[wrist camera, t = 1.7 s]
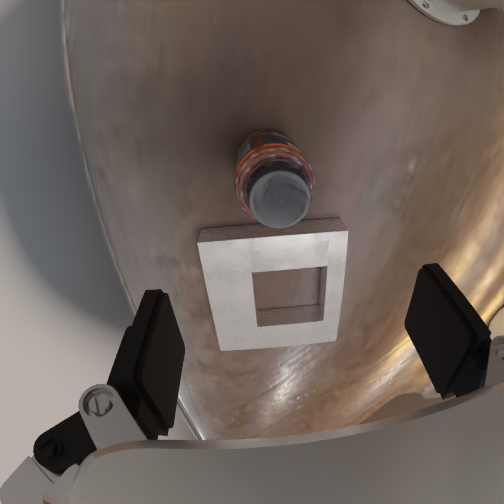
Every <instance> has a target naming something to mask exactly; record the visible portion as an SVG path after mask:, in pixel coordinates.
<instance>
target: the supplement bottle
mask: <svg viewBox="0 0 504 504" xmlns="http://www.w3.org/2000/svg"><path fill="white" fill-rule="evenodd" d="M234 186H235V193H236V197H237V199H238V202H239V203H240V205H241V207H242V208H243V209H244V210H245V212H246V213H248V214H249V215H250V216H252V217H253V218H255V219H256V220H258V221H259V222H260V223H262V224H264V225H266V226H268V227H272V228H286V227H290V226H292V225H294V224H296V223H298V222H299V221H300V220H301V219H302V218H303V217H304V216H305V215H306V213H307V211H308V209H309V206H310V203H311V201H312V199H313V196H314V193H315V186H316V182H315V175H314V172H313V169H312V167H311V165H310V163H309V162H308V160H307V159H306V158H305V156H304V155H303V154H302V153H301V152H300V150H299V149H298V148H297V147H296V145H295V144H294V143H293V142H292V141H291V140H290V139H289V138H288V137H287V136H285V135H284V134H282V133H280V132H277V131H273V130H261V131H257V132H255V133H253V134H251V135H249V136H248V137H246V138H245V140H244V141H243V142H242V143H241V145H240V146H239V149H238V152H237V155H236V165H235V181H234Z"/></svg>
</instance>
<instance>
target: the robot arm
mask: <svg viewBox="0 0 504 504" xmlns="http://www.w3.org/2000/svg"><path fill="white" fill-rule="evenodd" d="M408 1H409V2H410V3H411V4H412V5H413V6H414V7H415V8H416V9H418V10H419V11H420V12H422V13H423V14H424V15H426V16H427V17H429V18H431V19H433V20H434V21H437V22H439V23H442V24H445V25H450V26H460V25H467V24H469V23H471V22H473V21H474V20H475V19H476V18H477V16H478V15H479V13H480V9H488V8H496V9H498V10H500V11H502V12H504V0H408ZM405 329H406V331H407V333H408V335H409V337H410V339H411V340H412V342H413V344H414V346H415V348H416V350H417V352H418V354H419V356H420V358H421V360H422V362H423V365H424V367H425V369H426V371H427V373H428V375H429V377H430V379H431V381H432V384H433V386H434V388H435V390H436V392H437V393H440V394H441V397H442V399H446V398H449V397H452V396H454V395H456V398H454V399H451V400H448V401H445V402H442V403H439V404H437V405H433V406H430V407H427V408H424V409H420V410H417V411H414V412H410V413H407V414H403V415H399V416H395V417H391V418H388V419H384V420H379V421H375V422H371V423H366V424H361V425H356V426H351V427H346V428H341V429H335V430H329V431H322V432H316V433H308V434H301V435H292V436H283V437H272V438H258V439H239V440H157V439H158V435H163V436H168V430H169V428H172V427H173V425H174V419H175V412H176V405H177V398H178V392H179V385H180V379H181V373H182V367H183V361H184V355H185V346H184V342H183V339H182V336H181V333H180V330H179V327H178V324H177V321H176V318H175V315H174V312H173V309H172V305H171V302H170V299H169V296H168V294H167V293H163V291H162V290H161V289H156V290H146V291H145V293H144V295H143V298H142V300H141V303H140V305H139V308H138V311H137V313H136V316H135V318H134V321H133V324H132V326H129V327H127V329H126V331H125V333H124V336H123V339H122V342H121V344H120V347H119V350H118V353H117V355H116V358H115V361H114V364H113V367H112V369H111V372H110V375H109V378H108V381H107V384H97V385H94V386H91V387H90V388H88V389H87V390H86V391H85V392H84V393H83V394H82V395H81V398H80V400H79V411H78V412H77V413H75V414H73V415H72V416H70V417H69V418H67V419H65V420H64V421H62V422H60V423H59V424H57V425H56V426H54V427H52V428H51V429H49V430H47V431H46V432H44V433H43V434H41V435H40V436H39V437H38V438H37V440H36V441H35V444H34V449H33V453H34V456H33V457H32V458H31V457H29V456H28V457H27V458H26V459H25V460H24V461H23V462H22V464H21V465H20V466H19V467H18V468H17V469H16V470H15V471H14V472H13V474H12V475H11V476H10V477H9V478H8V479H7V480H6V481H5V482H4V484H3V485H2V487H1V488H0V500H1V502H2V504H504V336H503V335H501V336H497V337H494V339H493V340H492V339H491V338H490V335H491V331H490V330H489V328H488V327H487V326H486V324H485V323H484V321H483V320H482V319H481V317H480V316H479V315H478V313H477V312H476V310H475V309H474V308H473V306H472V305H471V304H470V303H469V301H468V300H467V299H466V297H465V296H464V295H463V293H462V292H461V291H460V290H459V288H458V287H457V286H456V285H455V283H454V282H453V281H452V280H451V279H450V277H449V276H448V275H447V274H446V273H445V271H444V270H443V269H442V268H441V267H440V265H439V264H437V263H433V264H425V265H423V266H422V269H420V270H419V271H418V275H417V279H416V283H415V287H414V291H413V294H412V298H411V301H410V305H409V308H408V312H407V315H406V318H405Z"/></svg>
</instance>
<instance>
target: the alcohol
mask: <svg viewBox="0 0 504 504" xmlns="http://www.w3.org/2000/svg"><path fill="white" fill-rule="evenodd" d="M488 328H489V330H490V331H491V335H490V338H491V339H492V340H493V339H494V337H497V336H501V335H503V336H504V306H503V307H502V308H501V309H500V310H499V311H498V312H497V313H496V314H495V315H494V317H493V318H492V320H491V321H490V324H489V327H488Z"/></svg>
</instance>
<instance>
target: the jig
mask: <svg viewBox="0 0 504 504" xmlns="http://www.w3.org/2000/svg"><path fill="white" fill-rule="evenodd" d="M347 242H348V229H347V228H346V226H345V225H344V223H343V221H342V220H341V218H333V219H318V220H304V221H299V222H298V223H296V224H294V225H292V226H290V227H286V228H272V227H268V226H266V225H264V224H253V225H241V226H230V227H219V228H208V229H201V231H200V235H199V239H198V242H197V244H198V249H199V254H200V259H201V264H202V269H203V274H204V278H205V283H206V288H207V292H208V297H209V301H210V306H211V310H212V315H213V319H214V324H215V328H216V332H217V336H218V341H219V345H220V349H221V351H225V350H243V349H258V348H271V347H283V346H293V345H303V344H312V343H321V342H329V341H336V337H337V330H338V323H339V316H340V309H341V301H342V292H343V284H344V274H345V264H346V254H347ZM310 267H321V276H320V294H319V305H310V306H300V307H290V308H279V309H267V310H256V300H255V291H254V281H253V272H264V271H276V270H287V269H299V268H310Z"/></svg>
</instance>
